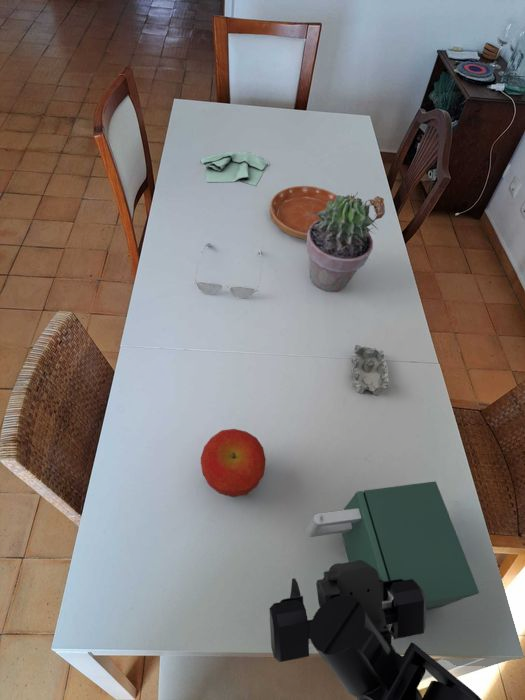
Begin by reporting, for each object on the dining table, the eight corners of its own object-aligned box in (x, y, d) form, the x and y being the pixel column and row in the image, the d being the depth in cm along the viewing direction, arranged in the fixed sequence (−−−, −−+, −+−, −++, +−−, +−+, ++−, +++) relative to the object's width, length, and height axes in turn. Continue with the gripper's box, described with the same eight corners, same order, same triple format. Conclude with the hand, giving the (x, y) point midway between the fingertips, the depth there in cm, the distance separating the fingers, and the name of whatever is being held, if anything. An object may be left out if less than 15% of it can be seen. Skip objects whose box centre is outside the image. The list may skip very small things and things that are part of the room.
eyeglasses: (193, 292, 109) (193, 280, 106) (205, 244, 120) (205, 231, 117) (257, 300, 110) (258, 289, 106) (263, 251, 120) (264, 239, 117)
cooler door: (318, 629, 69) (337, 618, 59) (297, 522, 79) (310, 497, 69) (369, 619, 71) (396, 607, 61) (343, 516, 80) (362, 490, 70)
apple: (255, 516, 79) (261, 491, 69) (194, 503, 79) (192, 477, 70) (265, 457, 86) (273, 427, 76) (209, 446, 86) (210, 415, 76)
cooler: (371, 619, 71) (398, 607, 61) (344, 516, 80) (364, 490, 70) (441, 607, 73) (479, 592, 63) (407, 507, 82) (435, 481, 72)
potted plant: (279, 258, 119) (293, 172, 100) (347, 251, 124) (374, 167, 104) (299, 308, 109) (319, 223, 89) (372, 299, 114) (408, 216, 94)
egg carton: (383, 398, 96) (389, 388, 93) (348, 391, 96) (353, 381, 93) (383, 358, 103) (389, 347, 99) (350, 352, 103) (355, 341, 100)
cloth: (275, 162, 147) (276, 155, 145) (246, 196, 134) (247, 189, 133) (219, 143, 151) (219, 136, 149) (186, 175, 138) (185, 167, 136)
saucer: (254, 224, 127) (255, 213, 124) (291, 186, 140) (293, 175, 137) (327, 257, 122) (330, 246, 119) (359, 214, 135) (362, 204, 132)
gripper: (457, 584, 48) (389, 511, 63) (283, 616, 44) (256, 531, 59) (455, 678, 49) (389, 585, 64) (288, 715, 46) (260, 607, 61)
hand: (326, 575), depth 62 cm, fingers open, 9 cm apart
